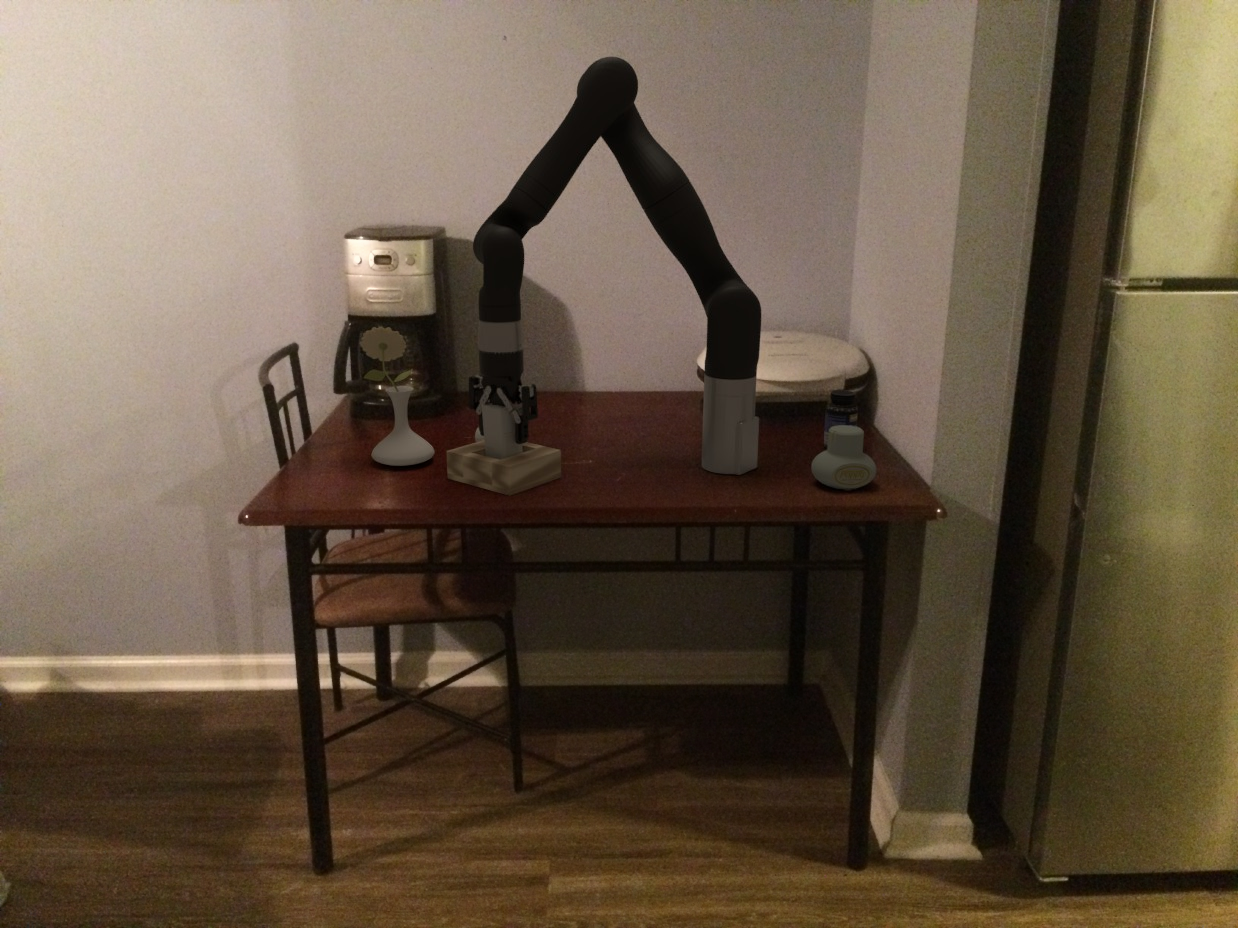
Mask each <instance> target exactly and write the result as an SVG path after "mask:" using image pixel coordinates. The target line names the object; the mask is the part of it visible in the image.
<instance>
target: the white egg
mask: <svg viewBox="0 0 1238 928" xmlns="http://www.w3.org/2000/svg"><path fill="white" fill-rule="evenodd" d="M468 438H470V436H467V437H465V439H468ZM474 439H475V440H474V441H475V443H476V442H479V441H483V440H484V436H482V435H481V434H480V430H479V426H478V427H477V428H476V431H475V434H474Z"/></svg>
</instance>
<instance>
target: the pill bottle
mask: <svg viewBox="0 0 1238 928" xmlns="http://www.w3.org/2000/svg"><path fill="white" fill-rule="evenodd" d="M856 394H857V393H856V392H854V391H851V390H847V389H846V390H844V389H842V390H841V389H839V390H832V391H830V401H831V402H830V403H828V404H827V405H826V407H825V417H824V418H825V419H824V430H823V431H824V433H823V447H824V448H826V449H827V448H828V435H829V429H830V428H831V427H833V426H838V425H849V426H855V427H858V418H859V416H858V415H859V414H858V413H859V408H858V406H857V405H856V404H855V403H854V402H855V400H856V397H857V396H856Z"/></svg>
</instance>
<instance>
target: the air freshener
mask: <svg viewBox="0 0 1238 928" xmlns="http://www.w3.org/2000/svg"><path fill="white" fill-rule="evenodd" d="M864 437H865V431H864V430H863V429H862V428H861V427H859V426H857V427H855V426H849V425H838V426H833V427H831V428H830V429H829V435H828V448H826V450H823V451H821V452H820V453H819V454H817V455H816V456H815V457H814V458H813V460H812V462H811V465H810V466H811V473H812V475H813V476H814V478H815V479H816V480H817V481H818V482H820V483H821V484H823V485H825V486H826V487H828V488H829V487H830V488H832V489H836V490H839V489H844V490H843V491H852V490H851V489H854V490H857V489H859V488H862V487H863V486H867V485H868V484H870V482H872V481H873V479H875V476H876V474H877V465H876V463H875V462H874V460H873V459H872V457H870V456H869V455H868V454H866V453H864V452H863V451H864Z"/></svg>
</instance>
